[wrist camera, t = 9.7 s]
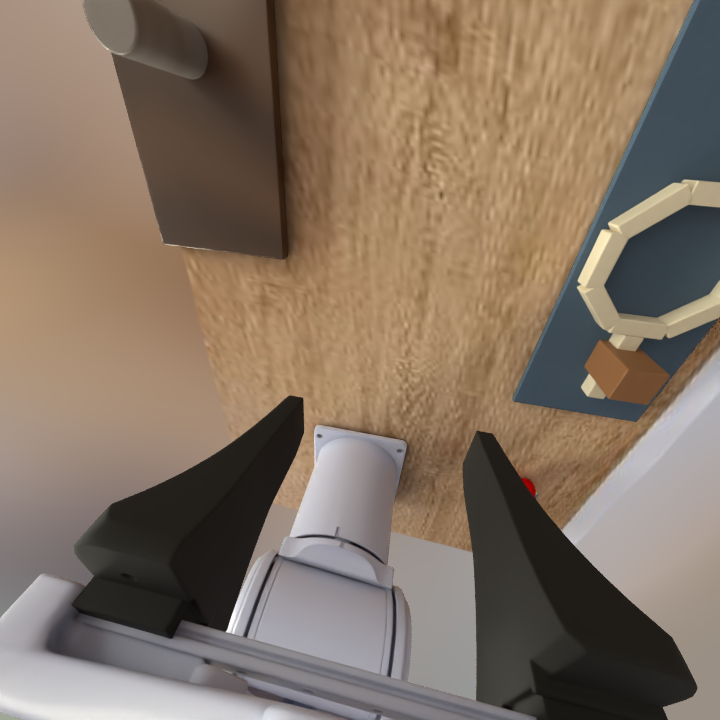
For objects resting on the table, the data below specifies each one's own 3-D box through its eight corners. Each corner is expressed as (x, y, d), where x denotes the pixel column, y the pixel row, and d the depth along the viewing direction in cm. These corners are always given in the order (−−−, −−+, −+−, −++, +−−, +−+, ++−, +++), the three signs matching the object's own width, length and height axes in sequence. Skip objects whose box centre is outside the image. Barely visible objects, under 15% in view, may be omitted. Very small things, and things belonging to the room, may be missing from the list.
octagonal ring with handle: (626, 174, 14) (673, 178, 11) (810, 190, 13) (906, 197, 11) (529, 379, 21) (545, 411, 18) (649, 397, 20) (683, 434, 17)
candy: (524, 496, 27) (530, 517, 26) (500, 492, 28) (505, 512, 26) (536, 475, 26) (544, 496, 24) (511, 471, 26) (517, 491, 24)
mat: (633, 418, 21) (636, 422, 21) (512, 398, 22) (513, 401, 22) (979, -27, 10) (998, -34, 10) (708, -33, 11) (717, -39, 11)
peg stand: (288, 256, 19) (251, 283, 15) (171, 241, 20) (105, 263, 16) (267, -124, 12) (179, -280, 7) (78, -122, 12) (-95, -261, 8)
